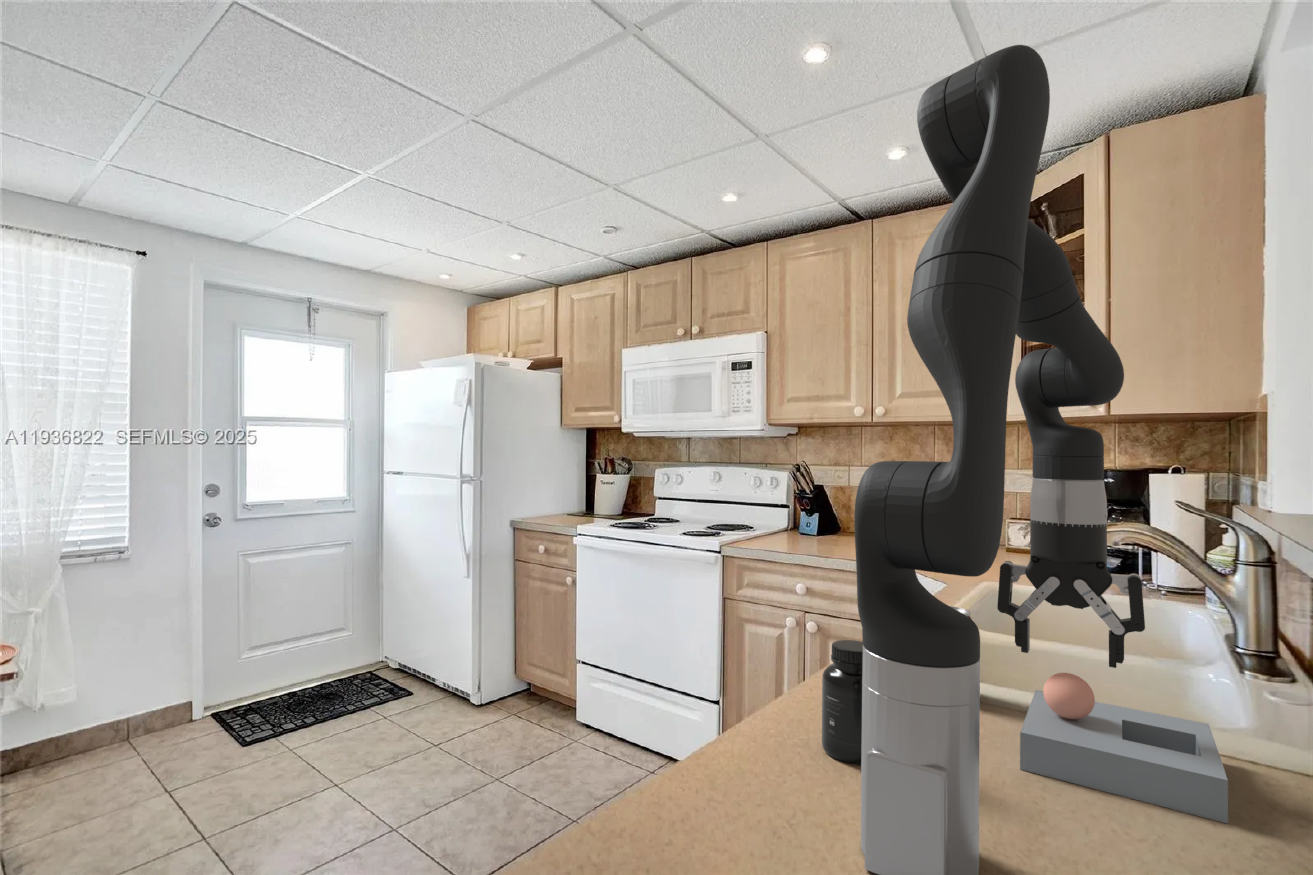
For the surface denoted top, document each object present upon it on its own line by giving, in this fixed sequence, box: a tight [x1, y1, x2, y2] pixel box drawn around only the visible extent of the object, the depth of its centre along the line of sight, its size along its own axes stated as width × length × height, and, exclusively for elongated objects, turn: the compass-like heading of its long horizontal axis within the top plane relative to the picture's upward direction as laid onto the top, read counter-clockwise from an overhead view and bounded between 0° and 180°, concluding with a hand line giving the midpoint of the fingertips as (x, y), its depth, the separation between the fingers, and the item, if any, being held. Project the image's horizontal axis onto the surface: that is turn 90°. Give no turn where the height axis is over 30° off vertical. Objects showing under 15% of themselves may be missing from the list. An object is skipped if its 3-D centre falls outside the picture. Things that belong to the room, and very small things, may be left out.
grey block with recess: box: [1019, 689, 1229, 824], centre depth 72 cm, size 16×17×4 cm
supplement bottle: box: [821, 639, 863, 765], centre depth 74 cm, size 7×7×12 cm
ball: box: [1042, 672, 1096, 719], centre depth 75 cm, size 5×5×5 cm
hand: (1067, 658), depth 75 cm, fingers open, 8 cm apart
